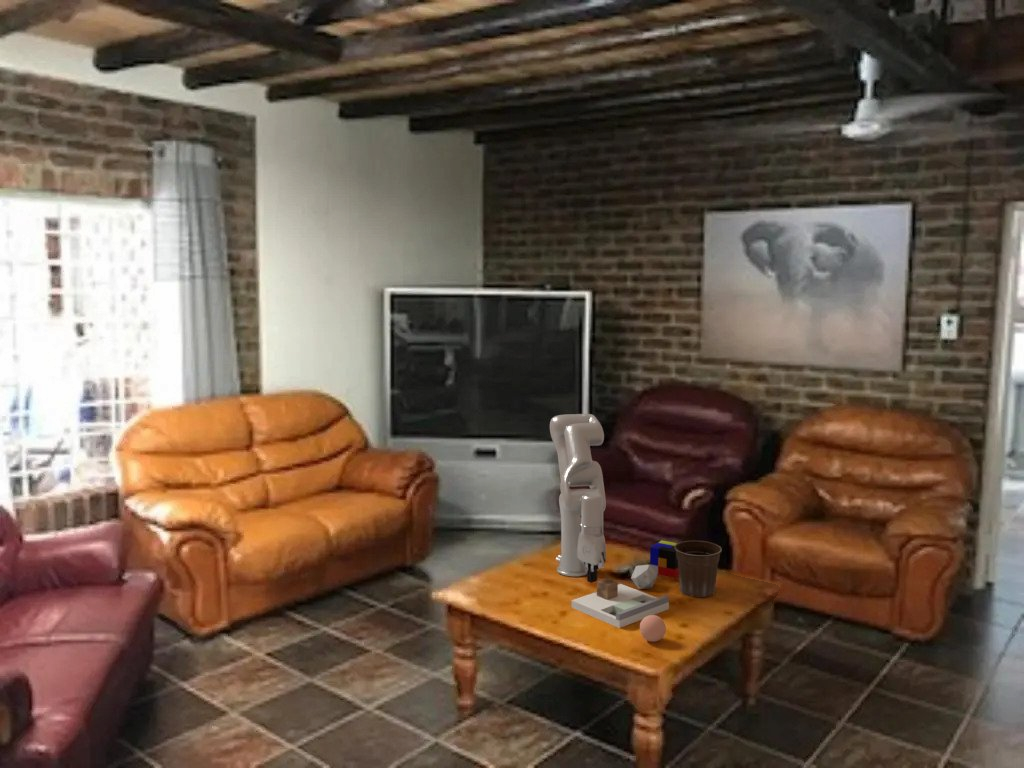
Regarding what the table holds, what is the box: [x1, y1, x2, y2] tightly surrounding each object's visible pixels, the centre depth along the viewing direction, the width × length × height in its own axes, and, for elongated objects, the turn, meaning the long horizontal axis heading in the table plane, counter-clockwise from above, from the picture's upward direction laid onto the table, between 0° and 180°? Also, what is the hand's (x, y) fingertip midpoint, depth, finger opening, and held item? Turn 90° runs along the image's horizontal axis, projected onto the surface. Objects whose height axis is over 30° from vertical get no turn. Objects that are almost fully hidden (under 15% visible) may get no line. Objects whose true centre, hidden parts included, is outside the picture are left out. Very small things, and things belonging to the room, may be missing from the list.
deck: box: [570, 583, 670, 629], centre depth 287 cm, size 22×24×4 cm
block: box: [596, 578, 619, 600], centre depth 291 cm, size 5×5×5 cm
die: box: [630, 564, 658, 590], centre depth 306 cm, size 8×9×10 cm
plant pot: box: [674, 540, 723, 598], centre depth 301 cm, size 16×16×16 cm
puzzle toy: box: [649, 540, 679, 579], centre depth 321 cm, size 10×10×10 cm
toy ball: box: [639, 614, 667, 643], centre depth 261 cm, size 8×8×8 cm
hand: (592, 581), depth 296 cm, fingers closed
